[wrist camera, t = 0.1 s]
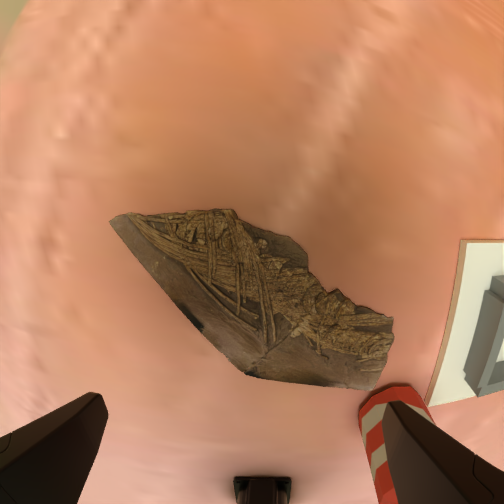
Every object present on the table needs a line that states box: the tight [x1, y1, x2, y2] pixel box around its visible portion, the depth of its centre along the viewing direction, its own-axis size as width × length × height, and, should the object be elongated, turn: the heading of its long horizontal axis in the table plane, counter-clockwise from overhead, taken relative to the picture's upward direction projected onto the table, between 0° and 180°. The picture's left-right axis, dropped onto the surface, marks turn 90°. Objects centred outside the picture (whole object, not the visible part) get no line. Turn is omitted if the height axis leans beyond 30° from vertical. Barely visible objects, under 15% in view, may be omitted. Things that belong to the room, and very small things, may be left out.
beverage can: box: [359, 387, 436, 504], centre depth 20 cm, size 6×6×12 cm
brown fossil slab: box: [109, 209, 394, 391], centre depth 23 cm, size 26×11×1 cm, turn 54°
